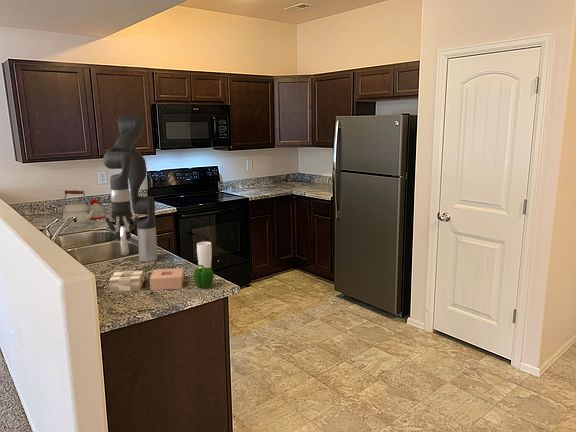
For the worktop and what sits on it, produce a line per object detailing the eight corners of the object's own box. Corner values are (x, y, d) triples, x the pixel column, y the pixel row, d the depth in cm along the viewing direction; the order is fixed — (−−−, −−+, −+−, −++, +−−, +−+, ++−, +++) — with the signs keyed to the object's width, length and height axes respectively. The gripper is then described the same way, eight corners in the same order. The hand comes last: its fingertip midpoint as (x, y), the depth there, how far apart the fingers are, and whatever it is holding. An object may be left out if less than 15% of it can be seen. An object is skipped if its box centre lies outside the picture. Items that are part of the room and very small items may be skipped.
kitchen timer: (81, 219, 340) (80, 200, 337) (94, 216, 353) (92, 197, 350) (97, 220, 336) (95, 200, 333) (109, 217, 349) (107, 198, 346)
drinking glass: (207, 271, 213) (206, 240, 210) (215, 274, 208) (214, 243, 205) (195, 274, 208) (193, 243, 206) (203, 277, 204) (202, 245, 201)
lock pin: (122, 253, 191) (119, 225, 189) (129, 252, 192) (127, 225, 189) (120, 254, 188) (118, 227, 186) (128, 254, 189) (125, 226, 186)
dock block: (154, 280, 201) (153, 269, 200) (183, 278, 203) (183, 268, 202) (150, 290, 188) (149, 278, 187) (181, 288, 190) (181, 277, 189)
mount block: (115, 282, 198) (115, 271, 197) (143, 281, 199) (143, 270, 198) (109, 292, 186) (108, 280, 185) (139, 290, 188) (138, 279, 187)
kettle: (55, 226, 313) (51, 191, 309) (72, 221, 331) (68, 188, 326) (87, 228, 309) (84, 192, 305) (102, 222, 327) (100, 189, 322)
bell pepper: (217, 284, 195) (216, 262, 193) (209, 290, 187) (208, 267, 185) (199, 282, 197) (198, 261, 195) (191, 289, 189) (190, 266, 187)
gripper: (139, 198, 190) (142, 237, 193) (105, 198, 188) (108, 238, 191) (136, 200, 183) (139, 241, 186) (100, 201, 181) (104, 242, 184)
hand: (123, 239), depth 189 cm, fingers closed on lock pin, 3 cm apart
